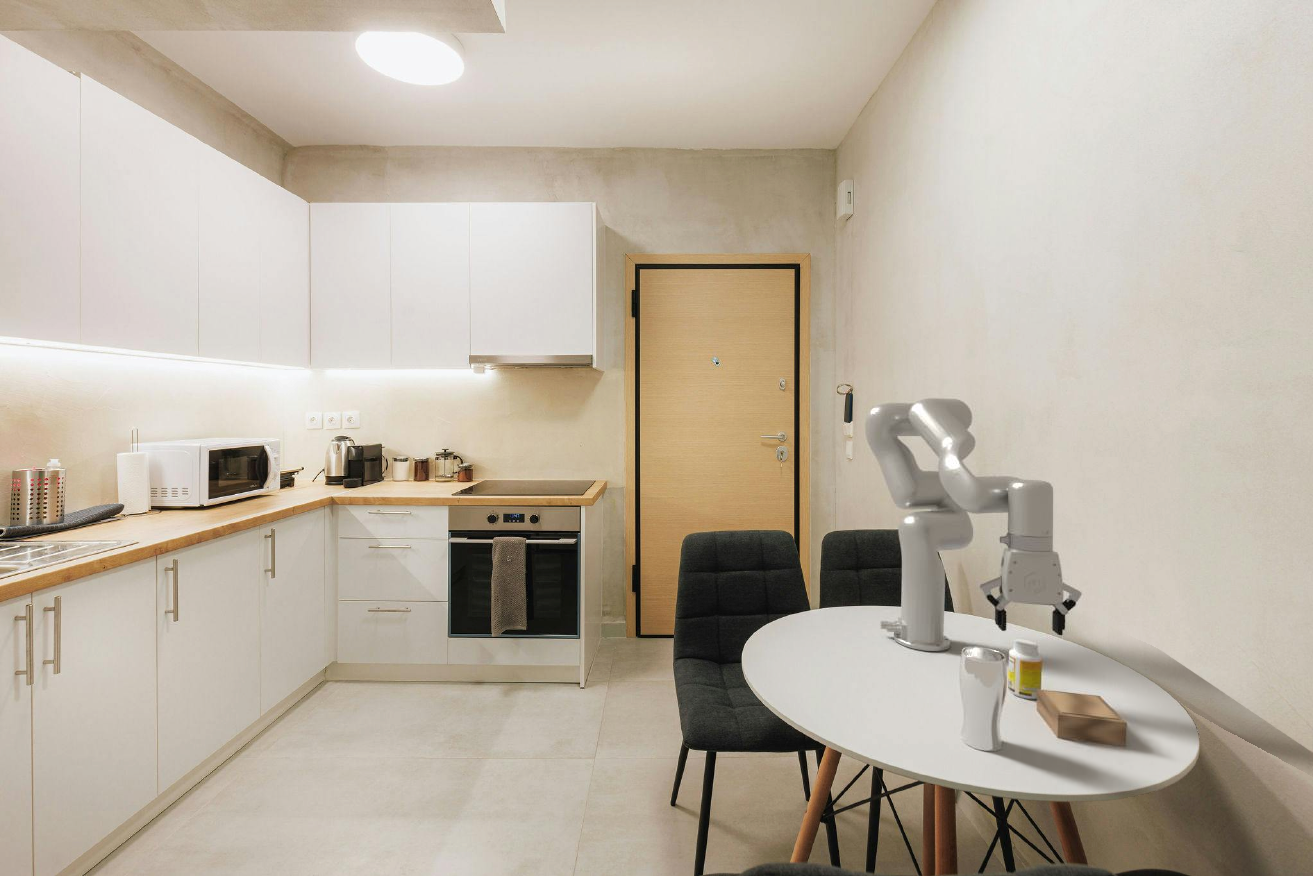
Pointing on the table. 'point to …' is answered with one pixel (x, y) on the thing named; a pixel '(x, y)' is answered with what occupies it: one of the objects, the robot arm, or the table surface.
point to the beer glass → (982, 696)
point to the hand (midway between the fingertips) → (1029, 630)
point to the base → (1081, 717)
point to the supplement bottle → (1024, 669)
